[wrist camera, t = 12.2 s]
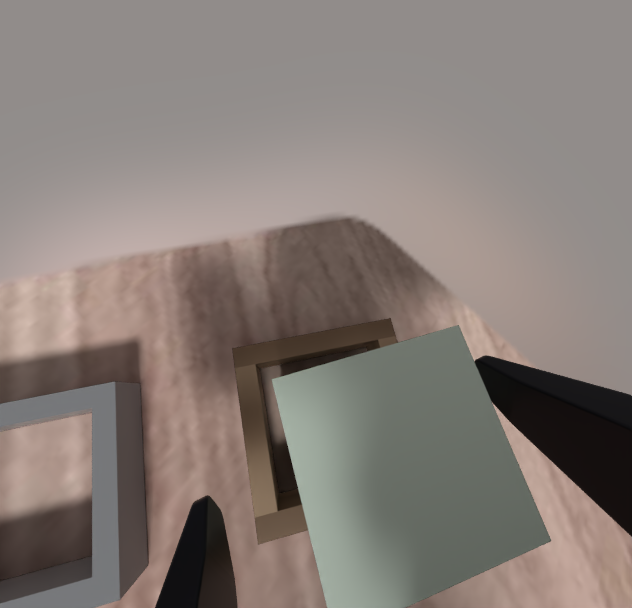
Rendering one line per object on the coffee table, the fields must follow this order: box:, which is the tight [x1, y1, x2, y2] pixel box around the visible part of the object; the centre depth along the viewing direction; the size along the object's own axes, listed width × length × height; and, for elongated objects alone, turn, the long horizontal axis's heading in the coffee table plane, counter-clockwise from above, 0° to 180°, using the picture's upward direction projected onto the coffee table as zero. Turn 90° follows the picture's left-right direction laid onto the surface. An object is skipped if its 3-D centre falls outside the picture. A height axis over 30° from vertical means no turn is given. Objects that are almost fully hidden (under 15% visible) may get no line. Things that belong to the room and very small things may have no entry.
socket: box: [0, 381, 148, 608], centre depth 13 cm, size 8×8×2 cm
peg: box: [272, 325, 551, 608], centre depth 11 cm, size 4×4×12 cm
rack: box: [232, 318, 398, 544], centre depth 16 cm, size 8×8×2 cm
